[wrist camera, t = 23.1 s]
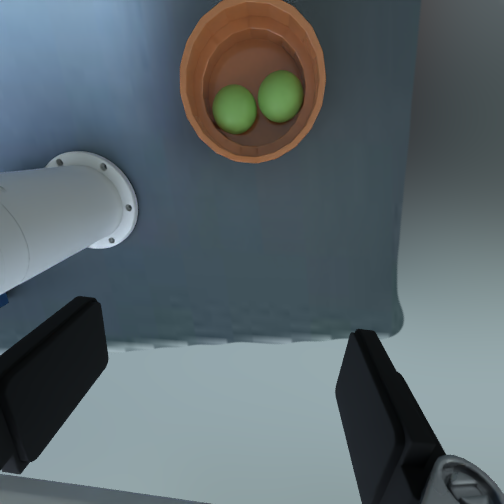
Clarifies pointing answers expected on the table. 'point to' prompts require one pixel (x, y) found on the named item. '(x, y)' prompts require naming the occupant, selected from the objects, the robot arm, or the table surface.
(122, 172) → the robot arm
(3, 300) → the radio
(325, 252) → the table surface
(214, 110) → the pea ball
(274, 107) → the pea ball
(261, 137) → the bowl
